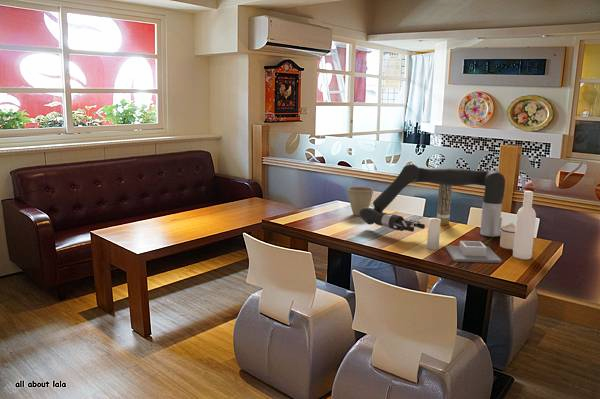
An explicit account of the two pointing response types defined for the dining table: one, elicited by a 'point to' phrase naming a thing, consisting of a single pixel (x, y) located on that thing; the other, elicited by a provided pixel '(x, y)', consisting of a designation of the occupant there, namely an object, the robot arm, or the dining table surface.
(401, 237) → the dining table surface
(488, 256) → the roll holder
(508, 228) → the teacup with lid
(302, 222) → the dining table surface
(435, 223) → the paper roll
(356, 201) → the plant pot
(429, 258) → the dining table surface
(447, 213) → the paper tube
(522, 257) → the bottle
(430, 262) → the dining table surface
